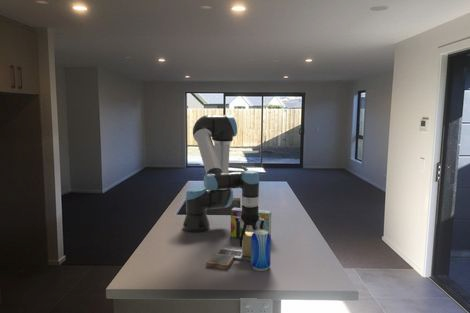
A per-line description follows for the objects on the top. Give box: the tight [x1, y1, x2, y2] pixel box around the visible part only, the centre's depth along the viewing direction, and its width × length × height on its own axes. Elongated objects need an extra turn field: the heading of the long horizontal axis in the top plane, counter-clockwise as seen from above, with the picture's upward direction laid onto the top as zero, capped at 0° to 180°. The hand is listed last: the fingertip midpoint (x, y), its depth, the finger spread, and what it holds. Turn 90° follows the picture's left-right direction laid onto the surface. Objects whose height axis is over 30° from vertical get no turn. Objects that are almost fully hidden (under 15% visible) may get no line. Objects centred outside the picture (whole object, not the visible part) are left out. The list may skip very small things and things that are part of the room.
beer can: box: [250, 229, 272, 272], centre depth 151 cm, size 8×8×16 cm
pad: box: [205, 252, 235, 271], centre depth 156 cm, size 10×10×2 cm
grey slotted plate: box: [217, 247, 251, 262], centre depth 163 cm, size 20×9×1 cm, turn 75°
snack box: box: [230, 207, 272, 238], centre depth 186 cm, size 21×6×15 cm, turn 71°
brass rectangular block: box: [243, 232, 253, 258], centre depth 162 cm, size 5×5×11 cm
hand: (249, 253), depth 162 cm, fingers closed on brass rectangular block, 5 cm apart
